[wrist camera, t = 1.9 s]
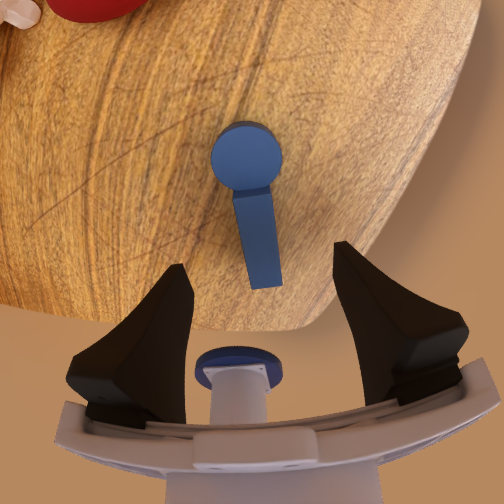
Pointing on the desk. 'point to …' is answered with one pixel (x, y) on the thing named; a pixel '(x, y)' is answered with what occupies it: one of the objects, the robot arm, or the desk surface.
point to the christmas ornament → (93, 9)
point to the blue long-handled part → (252, 194)
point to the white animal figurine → (19, 13)
